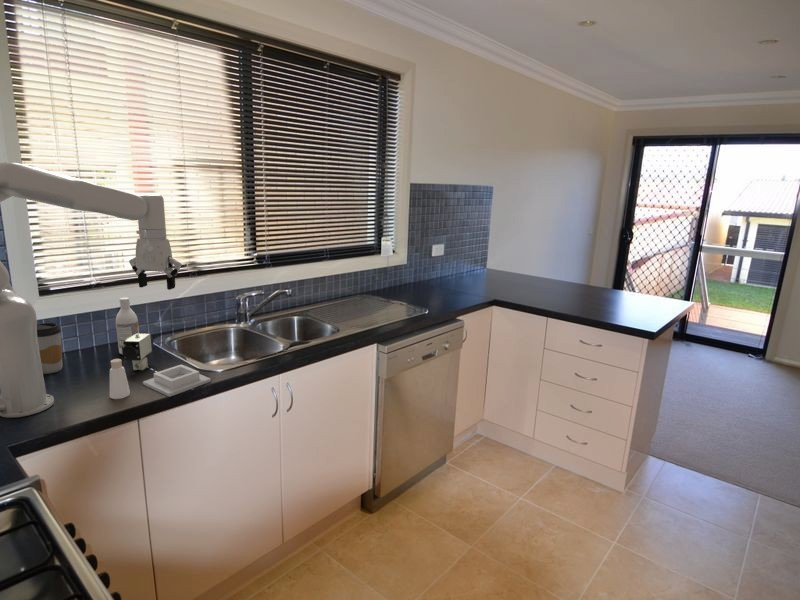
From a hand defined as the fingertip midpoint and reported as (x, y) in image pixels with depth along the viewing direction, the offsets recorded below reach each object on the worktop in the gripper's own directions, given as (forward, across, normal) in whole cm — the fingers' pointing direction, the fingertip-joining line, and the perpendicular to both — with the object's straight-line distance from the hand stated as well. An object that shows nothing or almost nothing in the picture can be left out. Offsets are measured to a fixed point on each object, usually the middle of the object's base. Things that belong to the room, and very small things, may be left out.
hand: (157, 287), depth 156 cm
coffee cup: (+28, -33, -9) cm, 45 cm away
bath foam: (+28, -20, +11) cm, 36 cm away
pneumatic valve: (+28, -8, -2) cm, 29 cm away
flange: (+28, +11, -9) cm, 31 cm away
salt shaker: (+28, 0, -21) cm, 35 cm away
